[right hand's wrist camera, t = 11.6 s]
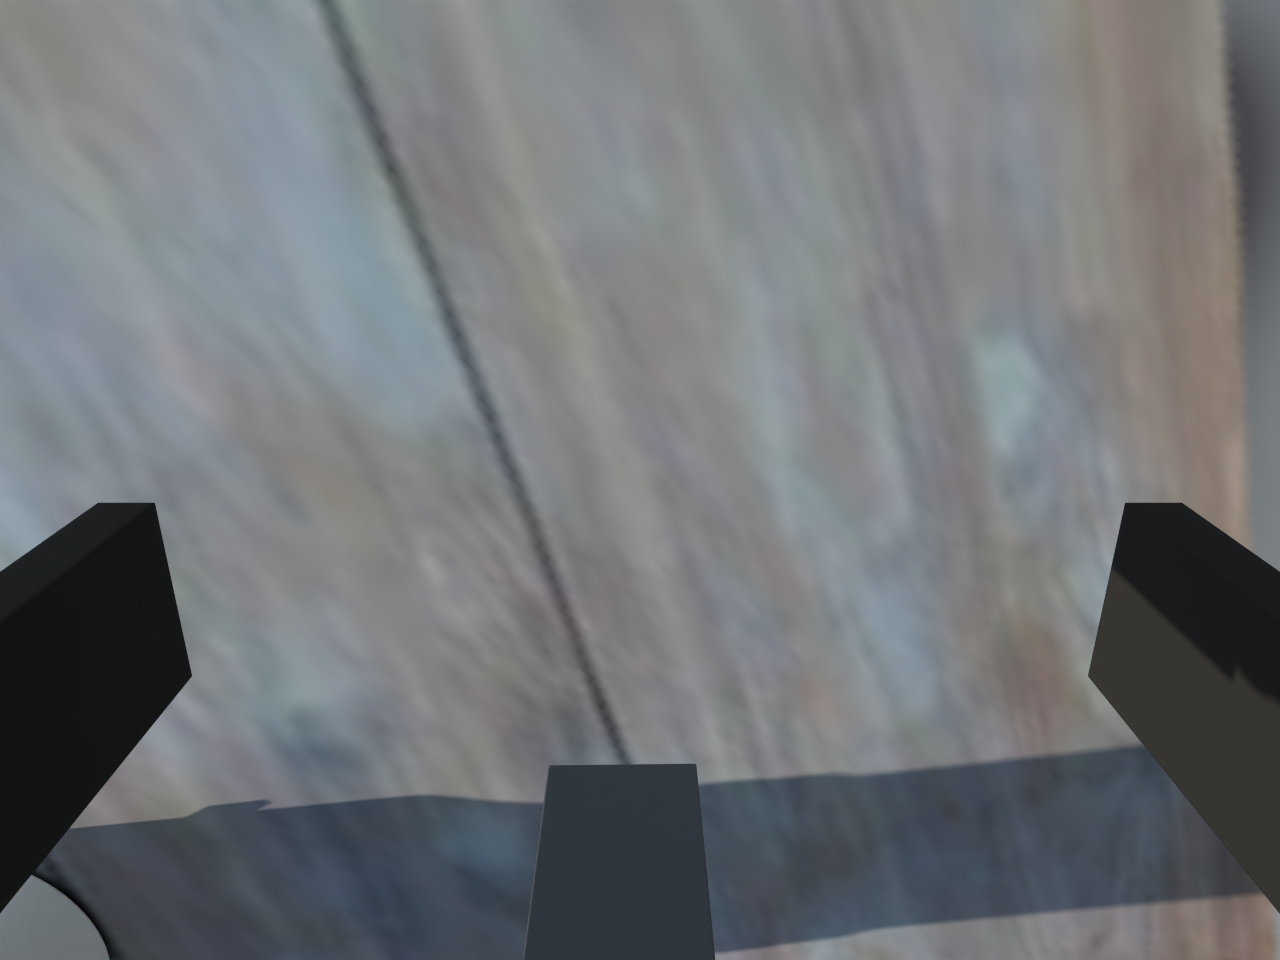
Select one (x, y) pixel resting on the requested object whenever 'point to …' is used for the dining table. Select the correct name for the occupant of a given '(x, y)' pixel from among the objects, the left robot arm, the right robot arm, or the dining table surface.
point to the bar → (620, 866)
